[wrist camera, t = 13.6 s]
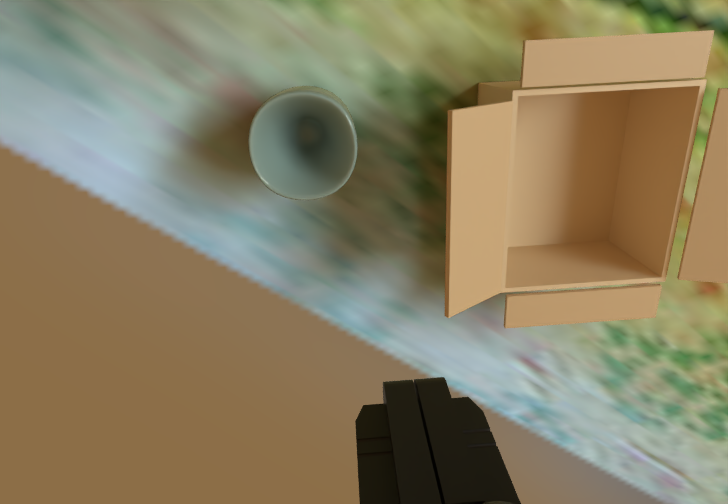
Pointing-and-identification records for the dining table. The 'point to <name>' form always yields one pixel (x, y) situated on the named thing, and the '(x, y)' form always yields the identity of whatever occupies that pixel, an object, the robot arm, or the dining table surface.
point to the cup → (303, 143)
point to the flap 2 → (710, 206)
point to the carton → (597, 172)
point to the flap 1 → (476, 203)
